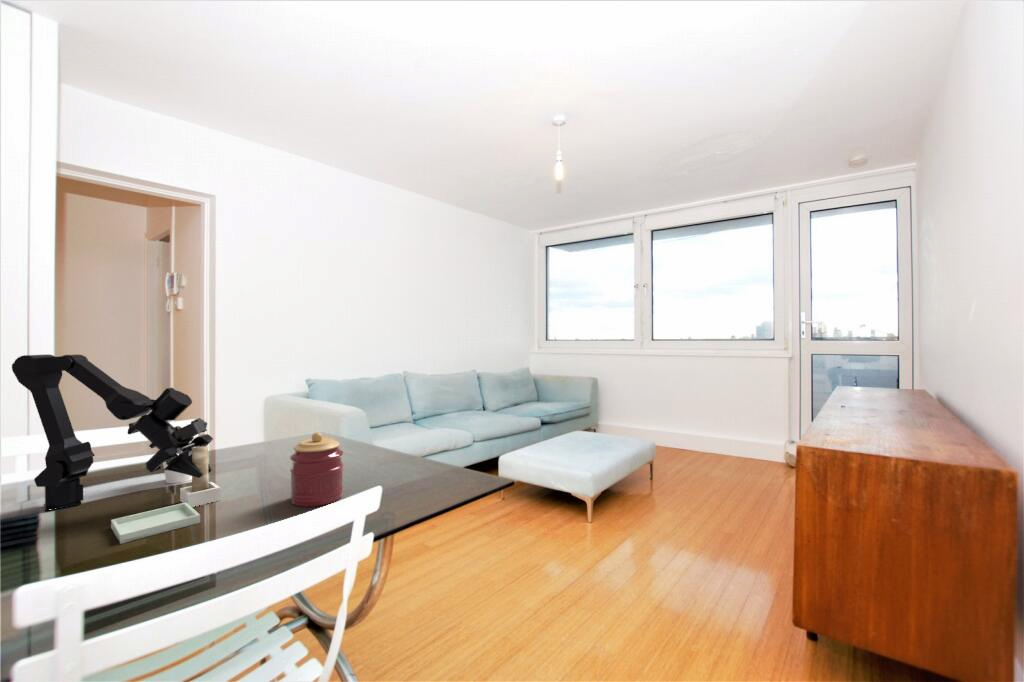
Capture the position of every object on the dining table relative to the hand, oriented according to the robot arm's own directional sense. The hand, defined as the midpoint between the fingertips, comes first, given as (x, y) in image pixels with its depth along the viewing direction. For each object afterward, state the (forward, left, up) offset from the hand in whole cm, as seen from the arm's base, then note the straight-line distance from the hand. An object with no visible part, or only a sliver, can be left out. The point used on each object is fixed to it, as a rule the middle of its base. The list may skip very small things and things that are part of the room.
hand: (205, 474), depth 117 cm
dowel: (-1, +1, -7) cm, 7 cm away
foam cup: (0, +26, -7) cm, 27 cm away
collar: (-1, +1, -7) cm, 7 cm away
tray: (-12, -9, -7) cm, 17 cm away
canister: (+20, -21, -7) cm, 30 cm away
